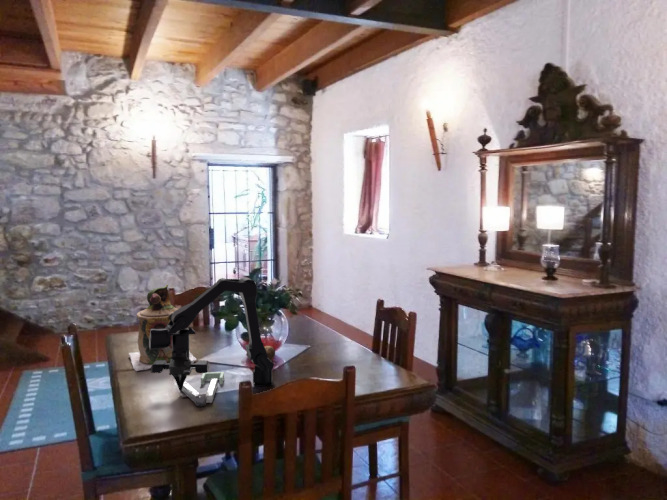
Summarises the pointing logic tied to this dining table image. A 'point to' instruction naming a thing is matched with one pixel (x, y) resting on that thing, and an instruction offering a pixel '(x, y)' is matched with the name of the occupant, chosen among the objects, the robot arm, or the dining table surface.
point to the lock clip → (212, 377)
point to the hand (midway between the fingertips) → (180, 390)
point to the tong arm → (193, 395)
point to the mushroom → (270, 352)
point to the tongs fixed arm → (211, 390)
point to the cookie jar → (154, 319)
